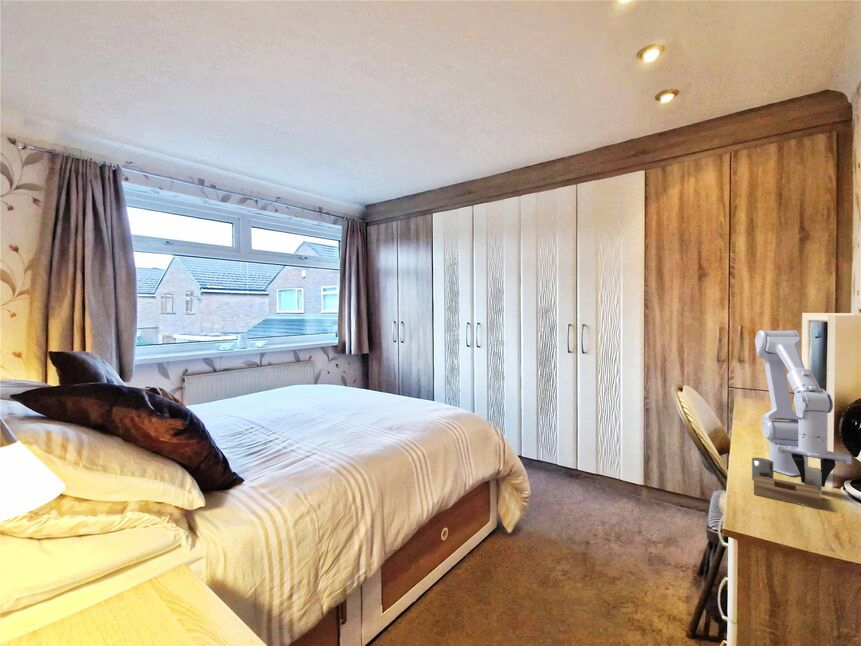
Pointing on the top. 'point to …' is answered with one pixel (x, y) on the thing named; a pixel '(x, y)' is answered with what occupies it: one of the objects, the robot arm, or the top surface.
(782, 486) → the bore block
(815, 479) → the square bit
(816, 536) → the top surface
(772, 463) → the round bit
